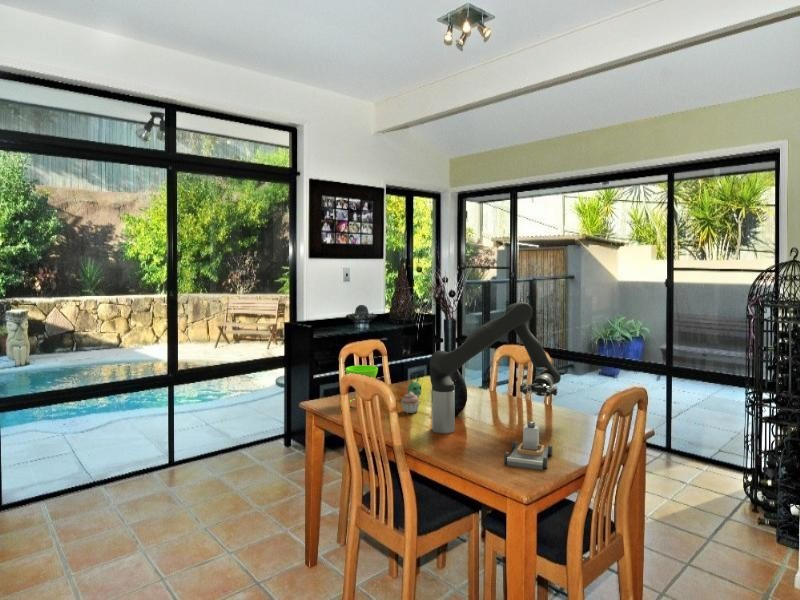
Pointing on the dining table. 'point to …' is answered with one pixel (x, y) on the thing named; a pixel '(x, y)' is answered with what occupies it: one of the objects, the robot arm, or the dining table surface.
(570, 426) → the dining table surface
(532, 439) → the block
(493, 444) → the dining table surface
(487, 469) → the dining table surface
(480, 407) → the dining table surface
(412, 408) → the cupcake
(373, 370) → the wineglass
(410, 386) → the alien toy
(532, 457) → the chassis
